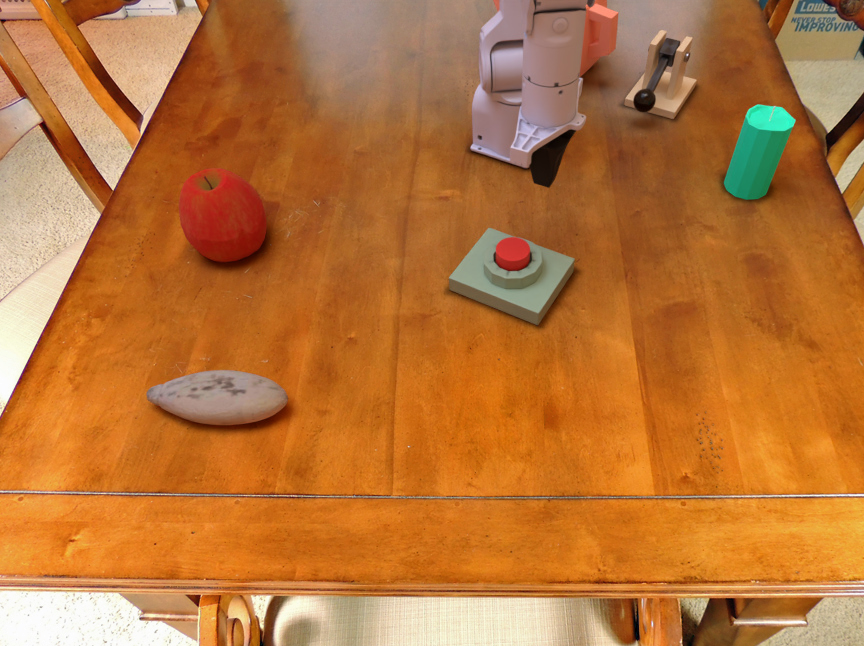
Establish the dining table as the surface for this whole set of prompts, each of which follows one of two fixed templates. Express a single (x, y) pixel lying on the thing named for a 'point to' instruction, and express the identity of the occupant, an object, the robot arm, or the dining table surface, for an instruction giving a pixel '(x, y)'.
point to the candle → (758, 151)
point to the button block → (512, 278)
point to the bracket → (666, 79)
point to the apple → (222, 215)
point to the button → (512, 254)
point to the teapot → (596, 33)
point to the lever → (656, 76)
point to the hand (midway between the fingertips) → (543, 182)
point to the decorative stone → (220, 397)
